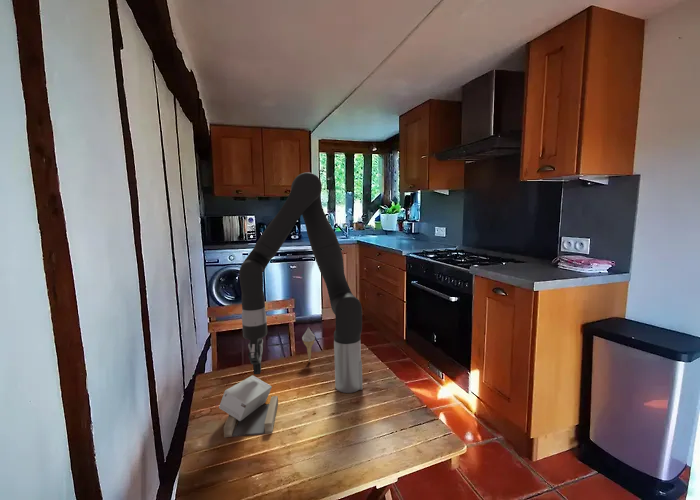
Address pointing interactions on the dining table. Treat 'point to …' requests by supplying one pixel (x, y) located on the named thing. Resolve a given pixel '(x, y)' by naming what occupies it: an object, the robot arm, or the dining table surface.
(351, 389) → the robot arm
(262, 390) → the skincare box
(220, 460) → the dining table surface
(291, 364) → the dining table surface
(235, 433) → the rest
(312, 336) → the ice cream cone
